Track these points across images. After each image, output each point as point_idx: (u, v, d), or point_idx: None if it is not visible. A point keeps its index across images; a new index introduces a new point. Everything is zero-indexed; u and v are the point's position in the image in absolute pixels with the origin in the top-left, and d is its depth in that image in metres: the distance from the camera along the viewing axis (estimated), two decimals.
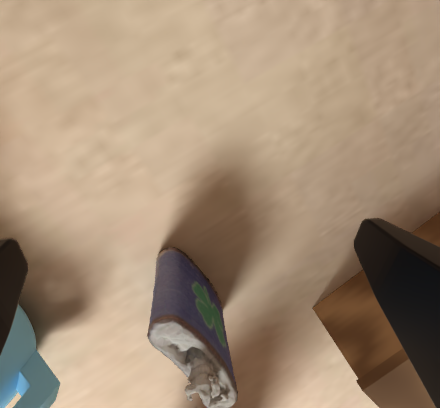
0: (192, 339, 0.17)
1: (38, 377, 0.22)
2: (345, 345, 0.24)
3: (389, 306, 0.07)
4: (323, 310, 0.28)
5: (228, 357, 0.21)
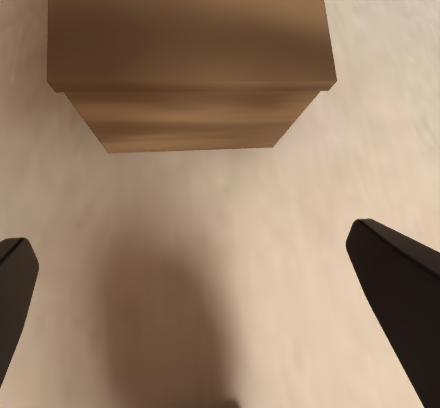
0: None
1: None
2: None
3: (380, 307, 0.07)
4: None
5: None
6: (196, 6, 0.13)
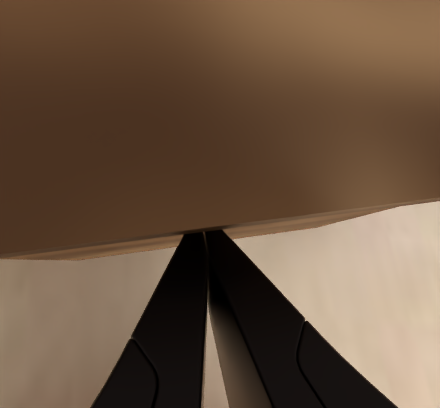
0: None
1: None
2: None
3: (213, 323, 0.07)
4: None
5: None
6: (213, 55, 0.06)
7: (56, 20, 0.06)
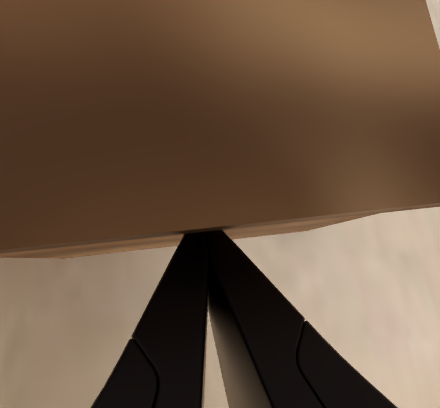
0: None
1: None
2: None
3: (212, 324, 0.07)
4: None
5: None
6: (188, 58, 0.06)
7: (30, 20, 0.06)
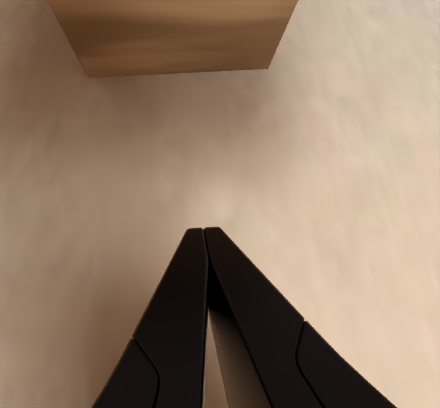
0: None
1: None
2: None
3: (212, 324, 0.07)
4: None
5: None
6: None
7: None
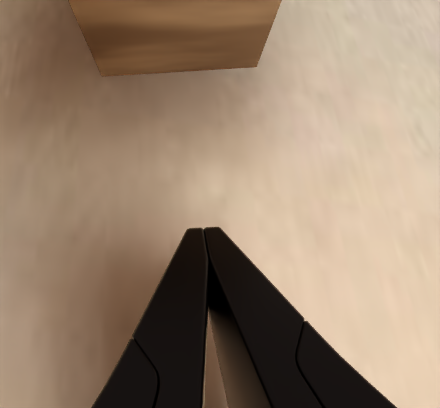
0: None
1: None
2: None
3: (212, 324, 0.07)
4: None
5: None
6: None
7: None
